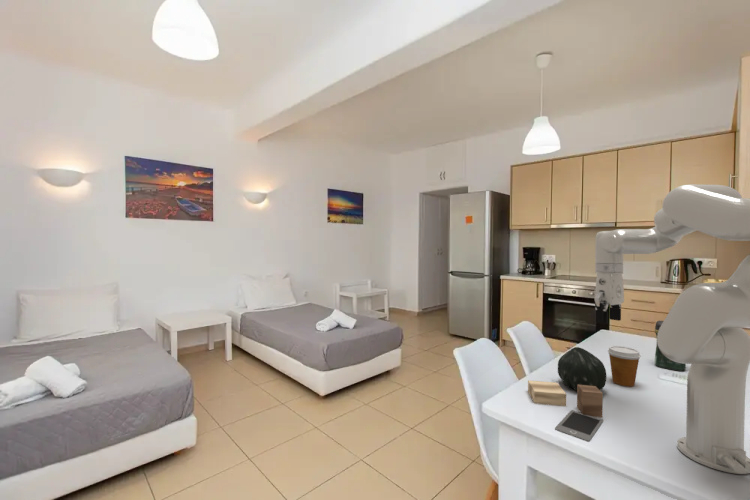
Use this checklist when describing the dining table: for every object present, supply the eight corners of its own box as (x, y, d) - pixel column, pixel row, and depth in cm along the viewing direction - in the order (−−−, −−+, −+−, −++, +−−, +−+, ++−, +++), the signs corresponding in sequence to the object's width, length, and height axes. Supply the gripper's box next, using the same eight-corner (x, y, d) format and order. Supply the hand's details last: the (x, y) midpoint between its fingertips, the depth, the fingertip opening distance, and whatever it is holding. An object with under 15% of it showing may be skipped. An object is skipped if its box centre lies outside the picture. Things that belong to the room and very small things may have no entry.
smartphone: (571, 411, 102) (571, 409, 102) (603, 422, 96) (603, 419, 96) (553, 430, 91) (553, 428, 91) (589, 443, 85) (589, 440, 85)
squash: (606, 367, 123) (575, 334, 125) (624, 385, 108) (589, 347, 110) (572, 389, 126) (543, 357, 128) (585, 410, 112) (552, 373, 114)
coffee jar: (686, 367, 138) (687, 322, 138) (685, 373, 132) (686, 325, 132) (655, 362, 145) (656, 318, 145) (653, 366, 139) (653, 321, 139)
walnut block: (602, 417, 98) (602, 393, 97) (582, 415, 99) (583, 391, 99) (595, 409, 102) (595, 386, 102) (576, 407, 104) (577, 384, 103)
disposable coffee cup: (646, 389, 117) (646, 354, 116) (614, 387, 119) (615, 352, 118) (631, 379, 126) (631, 346, 126) (602, 377, 128) (602, 345, 128)
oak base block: (566, 407, 104) (566, 394, 104) (534, 404, 106) (534, 391, 106) (557, 394, 113) (557, 382, 113) (527, 392, 115) (528, 380, 115)
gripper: (610, 270, 104) (609, 327, 104) (633, 268, 113) (632, 320, 113) (583, 269, 110) (583, 322, 110) (607, 267, 120) (607, 316, 120)
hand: (608, 321), depth 112 cm, fingers open, 9 cm apart
